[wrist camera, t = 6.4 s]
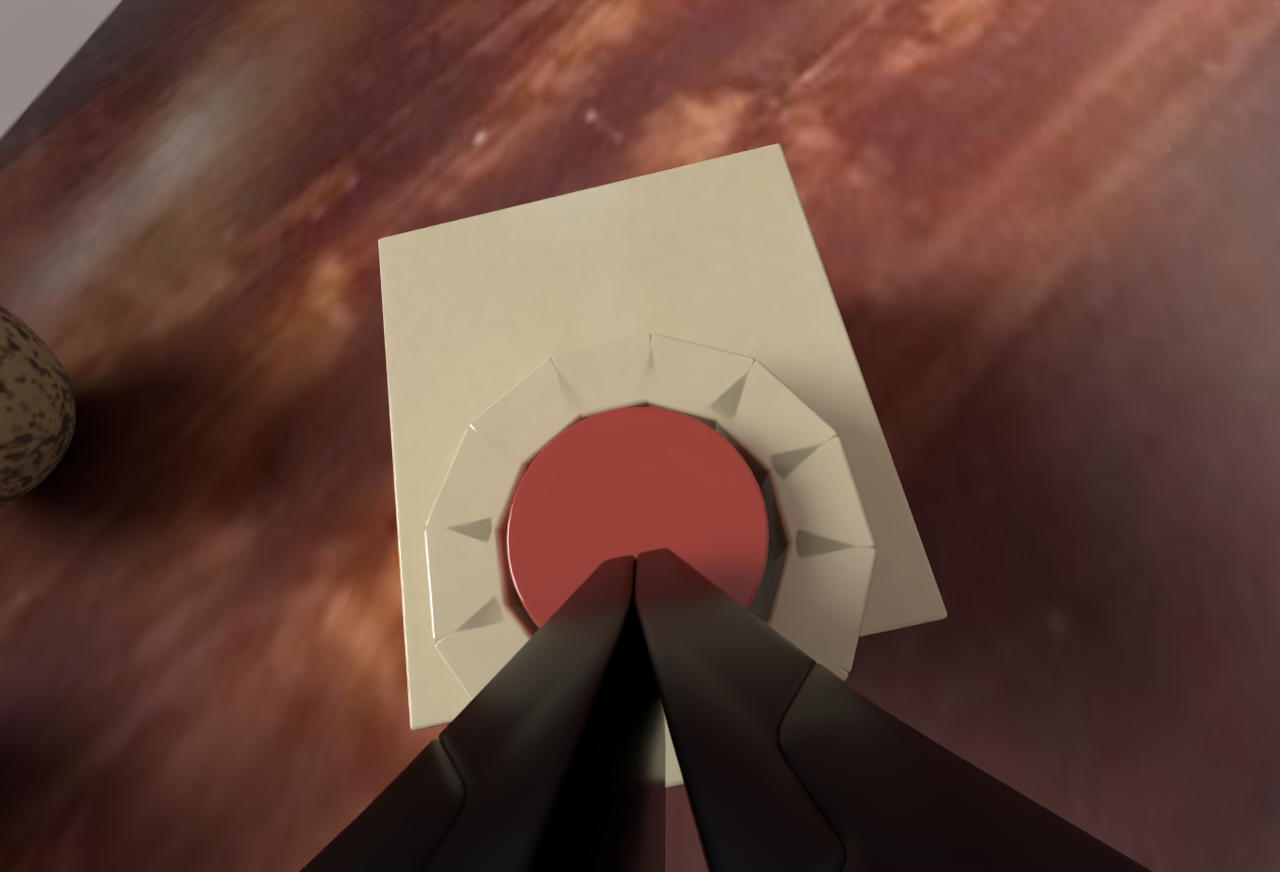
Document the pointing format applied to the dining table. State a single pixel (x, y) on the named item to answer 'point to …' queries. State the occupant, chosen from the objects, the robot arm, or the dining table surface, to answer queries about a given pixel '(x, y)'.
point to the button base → (634, 403)
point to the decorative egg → (30, 409)
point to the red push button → (635, 506)
